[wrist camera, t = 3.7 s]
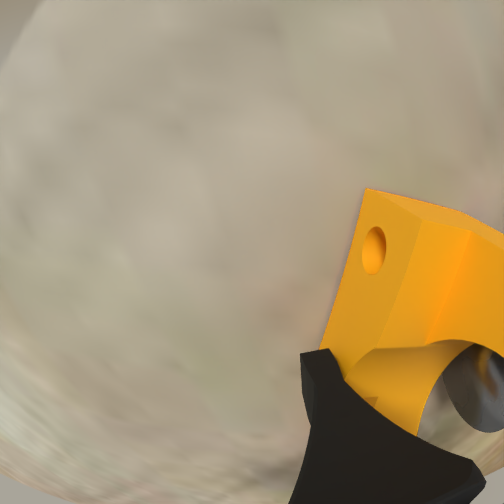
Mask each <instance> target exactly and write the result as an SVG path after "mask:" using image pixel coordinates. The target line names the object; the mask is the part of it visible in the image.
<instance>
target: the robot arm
mask: <svg viewBox="0 0 504 504" xmlns="http://www.w3.org/2000/svg"><path fill="white" fill-rule="evenodd" d="M300 362H301V379H302V394H303V398H304V403H305V407H306V411H307V416H308V419H309V422H310V425H311V428H310V434H309V439H308V444H307V448H306V452H305V456H304V460H303V464H302V467H301V471H300V474H299V476H298V479H297V482H296V485H295V488H294V491H293V493H292V496H291V498H290V501H289V503H288V504H470V502H471V501H472V500H473V499H474V498H475V497H476V496H477V495H478V494H479V493H480V492H481V491H482V490H483V489H484V487H485V484H486V480H485V478H484V477H483V475H482V473H481V471H480V470H479V468H478V467H477V466H476V465H475V463H474V462H473V461H472V460H471V459H468V458H465V457H462V456H459V455H456V454H453V453H450V452H448V451H445V450H443V449H441V448H438V447H436V446H434V445H432V444H430V443H428V442H426V441H424V440H422V439H420V438H418V437H416V436H415V435H413V434H411V433H409V432H407V431H406V430H404V429H402V428H401V427H399V426H398V425H396V424H395V423H393V422H392V421H390V420H389V419H388V418H386V417H385V416H383V415H382V414H381V413H380V412H378V411H377V410H376V409H374V408H373V407H372V406H371V405H370V404H369V403H367V402H366V401H365V400H364V399H363V398H362V397H361V396H360V395H358V394H357V393H356V392H355V391H354V390H353V389H352V388H351V387H350V386H349V385H348V384H347V383H346V382H345V381H344V379H343V376H342V373H341V370H340V368H339V365H338V362H337V360H336V359H335V357H334V355H333V354H332V352H331V351H330V349H329V348H326V349H321V350H316V351H311V352H306V353H301V354H300ZM503 504H504V503H503Z"/></svg>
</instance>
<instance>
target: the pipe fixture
mask: <svg viewBox="0 0 504 504" xmlns="http://www.w3.org/2000/svg"><path fill="white" fill-rule="evenodd" d="M442 375H443V379H444V382H445V386H446V389H447V391H448V394H449V397H450V399H451V401H452V403H453V405H454V407H455V408H456V410H457V411H458V413H459V414H460V416H461V417H462V418H463V419H464V421H466V422H467V423H468V424H469V425H470V426H471V427H473V428H474V429H477V430H479V431H482V432H489V433H491V432H496V431H499V430H501V429H503V428H504V357H502V356H501V355H499V354H498V353H497V352H495V351H493V350H491V349H489V348H487V347H486V346H483V345H480V344H478V343H474V344H472V345H471V346H469V347H468V348H466V349H465V350H463V351H462V352H461V353H459V354H458V355H457V356H456V357H455V358H454V359H453V360H452V361H451V362H450V363H449V364H448V365H447V367H446V368H445V369H444V370H443V372H442Z"/></svg>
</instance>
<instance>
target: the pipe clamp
mask: <svg viewBox="0 0 504 504" xmlns="http://www.w3.org/2000/svg"><path fill="white" fill-rule="evenodd" d="M474 343H478V344H480V345H483V346H486V347H487V348H489V349H491V350H493V351H495V352H497V353H498V354H499V355H501V356H502V357H504V234H502V233H500V232H499V231H497V230H495V229H493V228H491V227H489V226H488V225H486V224H484V223H482V222H480V221H478V220H476V219H474V218H472V217H470V216H468V215H466V214H464V213H462V212H460V211H457V210H453V209H449V208H446V207H442V206H438V205H435V204H431V203H427V202H423V201H419V200H415V199H411V198H407V197H403V196H399V195H395V194H390V193H386V192H382V191H377V190H373V189H368V188H366V189H365V193H364V197H363V202H362V206H361V210H360V214H359V218H358V222H357V226H356V229H355V233H354V237H353V241H352V244H351V248H350V252H349V255H348V259H347V262H346V266H345V269H344V273H343V276H342V279H341V283H340V286H339V289H338V293H337V296H336V299H335V302H334V305H333V308H332V312H331V315H330V318H329V321H328V324H327V327H326V330H325V333H324V336H323V339H322V341H321V344H320V347H319V350H321V349H326V348H329V349H330V351H331V352H332V354H333V355H334V357H335V359H336V360H337V362H338V365H339V368H340V370H341V373H342V376H343V379H344V381H345V382H346V383H347V384H348V385H349V386H350V387H351V388H352V389H353V390H354V391H355V392H356V393H357V394H358V395H360V396H361V397H362V398H363V399H364V400H365V401H366V402H367V403H369V404H370V405H371V406H372V407H373V408H374V409H376V410H377V411H378V412H380V413H381V414H382V415H383V416H385V417H386V418H388V419H389V420H390V421H392V422H393V423H395V424H396V425H398V426H399V427H401V428H402V429H404V430H406V431H407V432H409V433H411V434H413V435H415V436H416V437H417V433H418V428H419V423H420V419H421V416H422V412H423V409H424V406H425V403H426V401H427V399H428V396H429V394H430V392H431V390H432V388H433V386H434V384H435V382H436V381H437V379H438V377H439V376H440V375H441V373H442V372H443V370H444V369H445V368H446V367H447V365H448V364H449V363H450V362H451V361H452V360H453V359H454V358H455V357H456V356H457V355H458V354H459V353H461V352H462V351H463V350H465V349H466V348H468V347H469V346H471V345H472V344H474Z"/></svg>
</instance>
